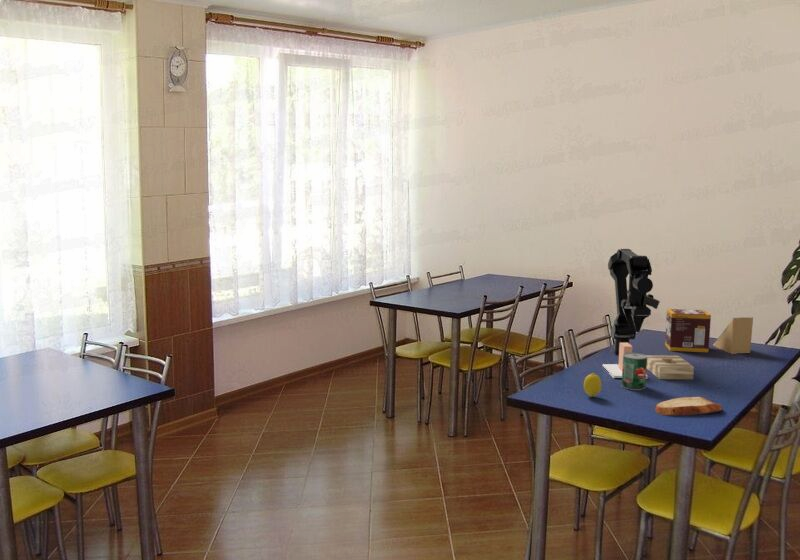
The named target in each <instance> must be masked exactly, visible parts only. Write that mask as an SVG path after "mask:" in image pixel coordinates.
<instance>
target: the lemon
mask: <svg viewBox="0 0 800 560" xmlns="http://www.w3.org/2000/svg"><path fill="white" fill-rule="evenodd" d="M583 390H584V392H585V393H586V395H588V396H590V397H591V398H594V397H595V396H597V395H598V394H599V393H600V392H601V390H602V381H601V378H600V376H599V375H597V374H595V373H594V372H591V373H590V374H588V375H587V376H585V378H584V381H583Z"/></svg>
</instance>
